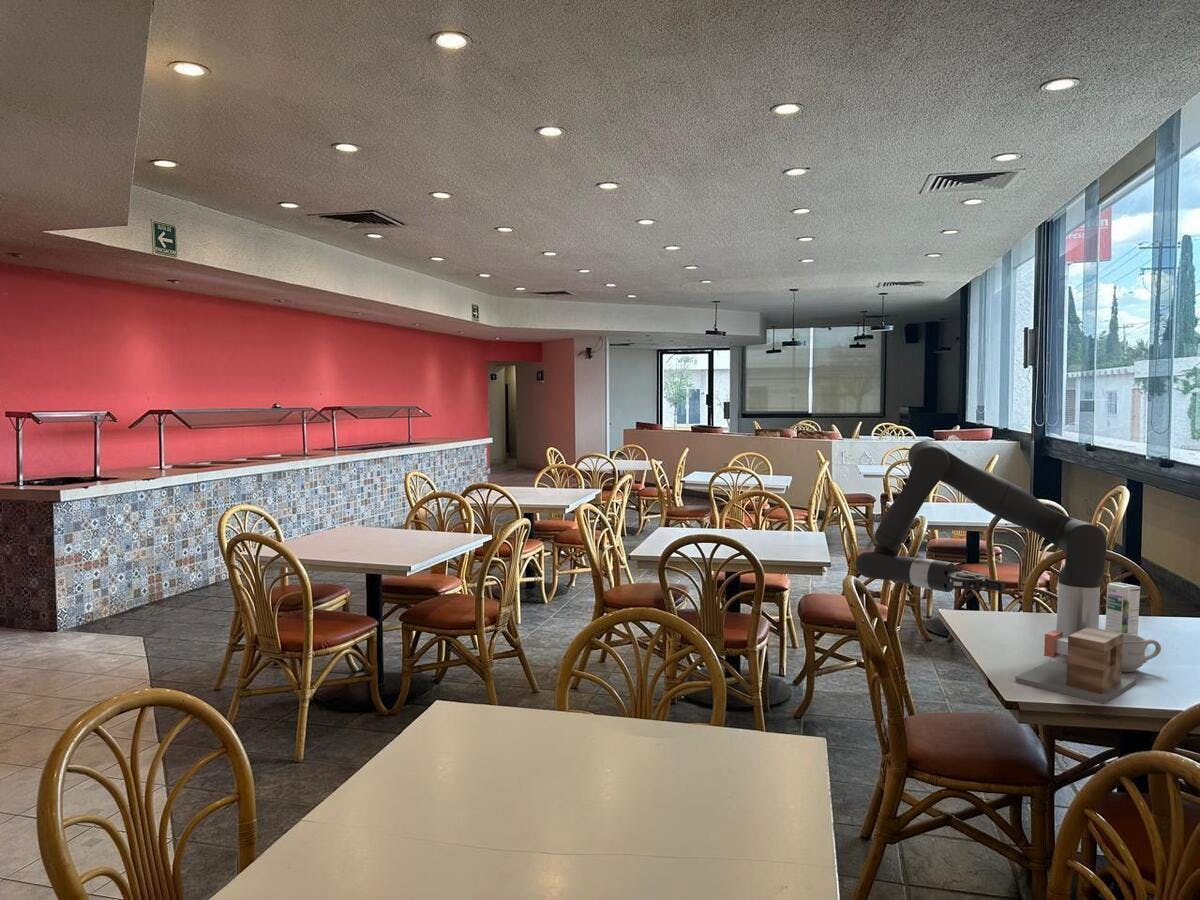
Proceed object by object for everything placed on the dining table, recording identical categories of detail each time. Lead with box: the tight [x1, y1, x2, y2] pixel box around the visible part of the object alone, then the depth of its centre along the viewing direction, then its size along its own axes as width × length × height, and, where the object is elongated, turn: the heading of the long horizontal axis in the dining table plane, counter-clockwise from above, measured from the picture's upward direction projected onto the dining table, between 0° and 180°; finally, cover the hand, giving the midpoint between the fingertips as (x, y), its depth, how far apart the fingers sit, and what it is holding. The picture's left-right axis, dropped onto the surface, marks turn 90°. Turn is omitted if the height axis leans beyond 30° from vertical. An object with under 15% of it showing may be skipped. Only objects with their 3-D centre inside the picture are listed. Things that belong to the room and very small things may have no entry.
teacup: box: [1121, 633, 1162, 673], centre depth 193 cm, size 14×11×8 cm
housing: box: [1066, 627, 1123, 694], centre depth 179 cm, size 12×7×12 cm, turn 131°
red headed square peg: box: [1043, 629, 1068, 659], centre depth 183 cm, size 5×9×5 cm, turn 41°
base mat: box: [1014, 659, 1137, 705], centre depth 183 cm, size 20×18×1 cm
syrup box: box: [1104, 581, 1141, 636], centre depth 221 cm, size 6×6×14 cm
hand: (1003, 586), depth 194 cm, fingers closed
